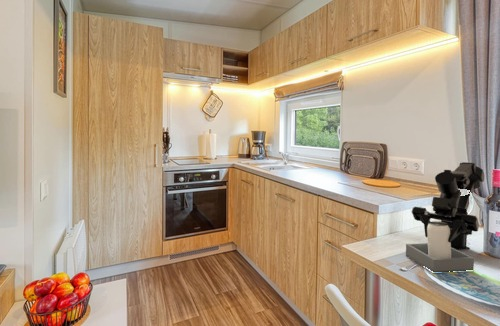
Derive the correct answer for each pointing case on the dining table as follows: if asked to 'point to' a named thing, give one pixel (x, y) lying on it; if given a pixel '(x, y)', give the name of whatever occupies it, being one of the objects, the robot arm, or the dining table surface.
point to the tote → (454, 263)
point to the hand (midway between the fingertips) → (437, 239)
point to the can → (438, 240)
